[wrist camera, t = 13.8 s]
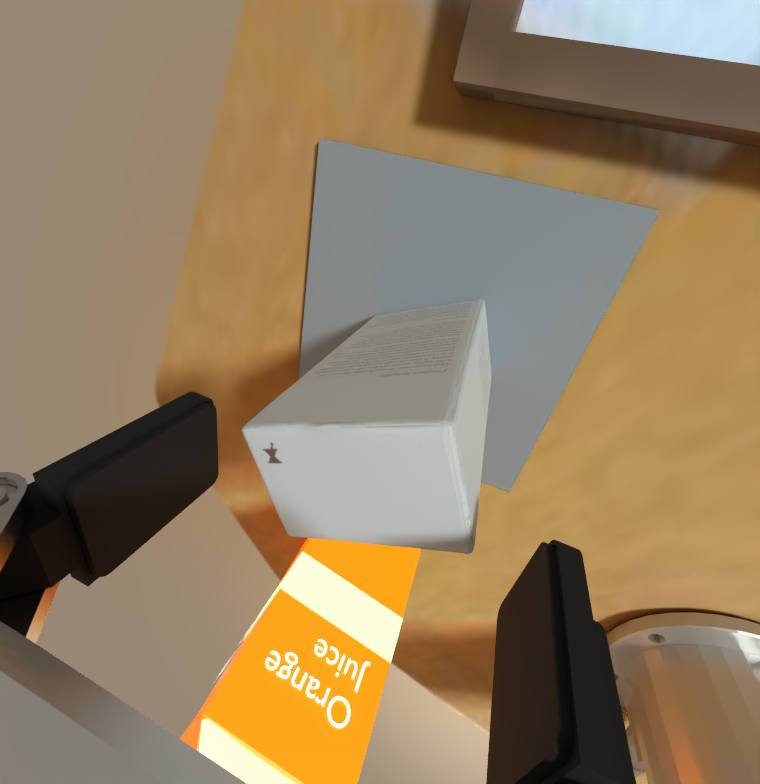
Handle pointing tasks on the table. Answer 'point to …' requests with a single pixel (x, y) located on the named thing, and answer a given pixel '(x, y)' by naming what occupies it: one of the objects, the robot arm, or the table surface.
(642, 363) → the table surface
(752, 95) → the brown square frame
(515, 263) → the rubber mat
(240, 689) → the orange juice
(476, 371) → the skincare box
